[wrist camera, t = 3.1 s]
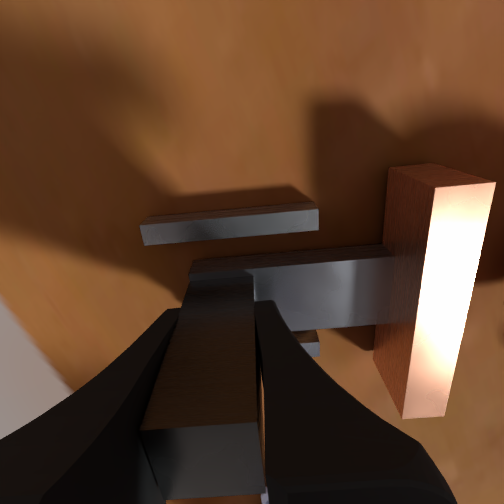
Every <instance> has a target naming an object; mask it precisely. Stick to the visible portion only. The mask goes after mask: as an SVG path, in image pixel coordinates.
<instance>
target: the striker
mask: <svg viewBox="0 0 504 504" xmlns="http://www.w3.org/2000/svg"><path fill="white" fill-rule="evenodd" d="M495 185H496V182H494V181H490V180H487V179H484V178H481V177H477V176H474V175H471V174H468V173H464V172H461V171H458V170H455V169H451V168H448V167H445V166H442V165H438V164H435V163H429V164H418V165H408V166H397V167H389V168H388V181H387V193H386V205H385V217H384V230H383V242H382V244H373V245H362V246H350V247H339V248H328V249H316V250H305V251H293V252H282V253H270V254H259V255H248V256H236V257H225V258H213V259H202V260H194V261H193V263H192V266H191V269H190V272H189V279H190V283H189V285H188V288H187V291H186V294H185V297H184V300H183V303H182V306H181V309H180V312H179V317H178V320H177V322H176V324H175V327H174V330H173V333H172V335H171V338H170V341H169V344H168V347H167V350H166V353H165V356H164V359H163V362H162V365H161V368H160V371H159V374H158V377H157V380H156V382H155V385H154V388H153V391H152V394H151V397H150V400H149V403H148V406H147V409H146V412H145V415H144V418H143V421H142V424H141V427H140V430H139V431H140V434H141V437H142V440H143V443H144V446H145V449H146V451H147V454H148V457H149V460H150V463H151V466H152V469H153V471H154V474H155V477H156V480H157V483H158V486H159V488H160V491H161V494H162V497H163V500H172V499H188V498H204V497H219V496H235V495H251V494H266V483H265V460H264V436H263V413H262V389H261V366H260V358H259V349H258V340H257V331H256V323H255V314H254V304H255V301H264V300H273V301H274V302H276V305H277V308H278V310H279V312H280V314H281V316H282V318H283V319H284V321H285V323H286V324H287V326H288V327H289V329H290V330H291V331H301V330H313V329H326V328H338V327H351V326H364V325H376V328H375V340H374V353H373V361H374V363H375V365H376V367H377V369H378V371H379V373H380V375H381V377H382V379H383V381H384V383H385V385H386V387H387V389H388V391H389V393H390V395H391V397H392V399H393V401H394V404H395V406H396V408H397V410H398V412H399V414H400V416H401V418H402V419H410V418H424V417H439V416H444V415H445V411H446V406H447V401H448V397H449V392H450V388H451V383H452V379H453V374H454V370H455V365H456V361H457V356H458V352H459V347H460V343H461V338H462V334H463V329H464V325H465V320H466V316H467V311H468V307H469V302H470V298H471V293H472V289H473V284H474V280H475V275H476V271H477V266H478V262H479V257H480V253H481V248H482V243H483V239H484V234H485V230H486V225H487V221H488V216H489V212H490V207H491V203H492V198H493V194H494V189H495Z"/></svg>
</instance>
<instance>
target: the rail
mask: <svg viewBox="0 0 504 504" xmlns="http://www.w3.org/2000/svg"><path fill="white" fill-rule="evenodd" d="M139 226H140V230H141V234H142V238H143V242H144V246H146V245H157V244H168V243H180V242H191V241H202V240H213V239H224V238H235V237H247V236H258V235H269V234H280V233H291V232H303V231H314V230H319V209H318V208H317V206H316V205H315V203H314V202H303V203H292V204H281V205H271V206H260V207H249V208H238V209H227V210H216V211H206V212H195V213H184V214H173V215H162V216H151V217H147V218H146V219H145V220H144V221H143V222H142V223H141V224H140V225H139ZM291 332H292V333H293V335H294V336H295V337H296V339H297V340H298V341H299V343H300V344H301V345H302V347H303V348H304V349H305V350H306V351H307V353H308V354H309V355H310V356H311V357H317V356H320V342H319V339H318V335H317V332H316V329H313V330H301V331H291Z"/></svg>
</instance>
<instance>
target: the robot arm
mask: <svg viewBox="0 0 504 504" xmlns="http://www.w3.org/2000/svg"><path fill="white" fill-rule="evenodd" d="M180 309H181V308H172V309H167V310H166V311H165V312H164V313H163V314H162V315H161V316H160V317H159V318H158V319H157V320H156V321H155V322H154V323H153V324H152V325H151V326H150V327H149V328H148V329H147V330H146V331H145V332H144V333H143V334H142V335H141V336H140V337H139V338H138V339H137V340H136V341H135V342H134V343H133V344H132V345H131V346H130V347H129V348H127V349H126V350H125V351H124V352H123V353H122V354H121V355H120V356H119V357H117V358H116V359H115V360H114V361H113V362H112V363H111V364H110V365H109V366H108V367H106V368H105V369H104V370H103V371H102V372H100V373H99V374H98V375H97V376H95V377H94V378H93V379H92V380H90V381H89V382H88V383H86V384H85V385H84V386H82V387H81V388H80V389H79V390H77V391H76V392H74V393H73V394H72V395H70V396H69V397H67V398H66V399H64V400H63V401H61V402H60V403H58V404H57V405H56V406H54V407H52V408H51V409H50V410H48V411H47V412H45V413H44V414H42V415H41V416H39V417H37V418H36V419H34V420H33V421H31V422H29V423H28V424H26V425H25V426H23V427H21V428H20V429H18V430H16V431H14V432H13V433H11V434H9V435H8V436H6V437H4V438H2V439H1V440H0V504H166V500H163V497H162V494H161V491H160V488H159V486H158V483H157V480H156V477H155V474H154V471H153V469H152V466H151V463H150V460H149V457H148V454H147V451H146V449H145V446H144V443H143V440H142V437H141V434H140V431H139V430H140V427H141V424H142V421H143V418H144V415H145V412H146V409H147V406H148V403H149V400H150V397H151V394H152V391H153V388H154V385H155V382H156V380H157V377H158V374H159V371H160V368H161V365H162V362H163V359H164V356H165V353H166V350H167V347H168V344H169V341H170V338H171V335H172V333H173V330H174V327H175V324H176V322H177V320H178V317H179V312H180ZM254 314H255V323H256V331H257V340H258V349H259V358H260V366H261V375H262V381H263V388H264V415H265V476H266V484H267V487H266V494H261V501H262V504H457V502H456V499H455V497H454V495H453V493H452V491H451V489H450V487H449V486H448V484H447V482H446V480H445V479H444V477H443V476H442V474H441V472H440V471H439V469H438V468H437V466H436V465H435V463H434V462H433V460H432V459H431V458H430V456H429V455H428V453H427V452H426V450H425V449H424V448H423V446H422V445H421V444H420V443H419V442H418V441H416V440H415V439H413V438H411V437H410V436H408V435H407V434H405V433H404V432H402V431H400V430H399V429H397V428H396V427H394V426H392V425H391V424H389V423H388V422H386V421H384V420H383V419H381V418H380V417H379V416H377V415H376V414H375V413H373V412H372V411H370V410H369V409H368V408H366V407H365V406H364V405H363V404H361V403H360V402H359V401H358V400H356V399H355V398H354V397H353V396H352V395H350V394H349V393H348V392H347V391H346V390H344V389H343V388H342V387H341V386H340V385H338V384H337V383H336V382H335V381H334V380H333V379H332V378H331V377H330V376H329V375H328V374H327V373H326V372H325V371H324V370H323V369H322V368H321V367H320V366H319V365H318V364H317V363H316V362H315V361H314V360H313V359H312V357H311V356H310V355H309V354H308V353H307V351H306V350H305V349H304V348H303V347H302V345H301V344H300V343H299V341H298V340H297V339H296V337H295V336H294V335H293V333H292V332H291V330H290V329H289V327H288V326H287V324H286V323H285V321H284V319H283V318H282V316H281V314H280V312H279V310H278V308H277V305H276V302H274V301H273V300H264V301H255V304H254Z"/></svg>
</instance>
